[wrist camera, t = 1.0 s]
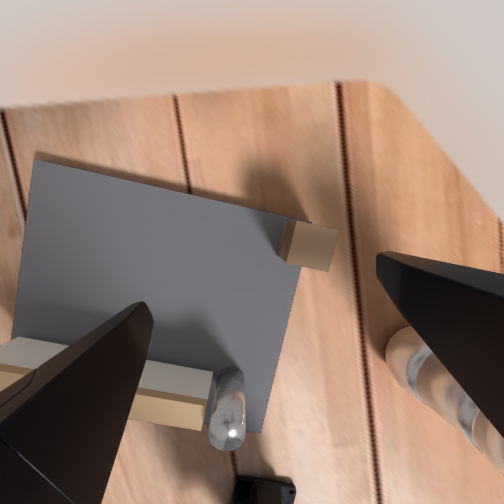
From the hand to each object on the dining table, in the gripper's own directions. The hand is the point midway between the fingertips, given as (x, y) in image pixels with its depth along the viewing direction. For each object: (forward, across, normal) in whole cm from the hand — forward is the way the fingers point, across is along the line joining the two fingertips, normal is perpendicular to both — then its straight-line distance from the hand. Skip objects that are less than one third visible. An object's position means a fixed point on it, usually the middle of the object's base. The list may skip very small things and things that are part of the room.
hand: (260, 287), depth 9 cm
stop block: (+13, -4, +4) cm, 14 cm away
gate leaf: (+8, +14, +10) cm, 19 cm away
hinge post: (+9, +5, +15) cm, 18 cm away
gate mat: (+11, +10, +7) cm, 16 cm away
